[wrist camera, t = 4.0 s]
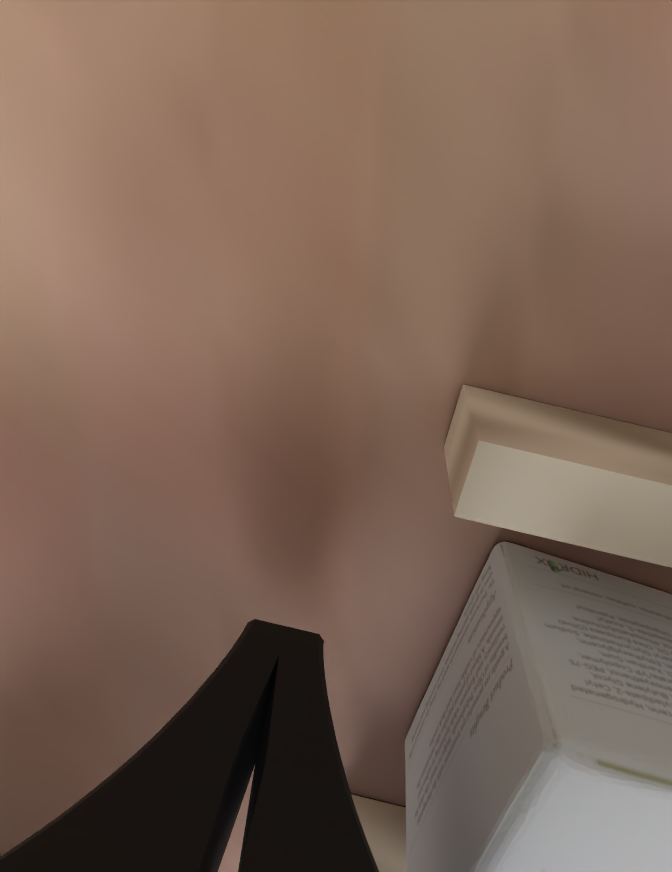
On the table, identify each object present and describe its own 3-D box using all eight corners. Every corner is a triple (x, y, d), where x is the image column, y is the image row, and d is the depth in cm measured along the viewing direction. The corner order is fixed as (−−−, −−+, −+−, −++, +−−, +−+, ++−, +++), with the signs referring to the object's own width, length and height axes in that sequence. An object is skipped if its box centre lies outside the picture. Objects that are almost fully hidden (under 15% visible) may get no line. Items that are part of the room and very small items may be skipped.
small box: (640, 811, 14) (749, 1106, 10) (397, 738, 14) (393, 1002, 10) (779, 617, 12) (1006, 883, 7) (492, 528, 12) (546, 743, 7)
